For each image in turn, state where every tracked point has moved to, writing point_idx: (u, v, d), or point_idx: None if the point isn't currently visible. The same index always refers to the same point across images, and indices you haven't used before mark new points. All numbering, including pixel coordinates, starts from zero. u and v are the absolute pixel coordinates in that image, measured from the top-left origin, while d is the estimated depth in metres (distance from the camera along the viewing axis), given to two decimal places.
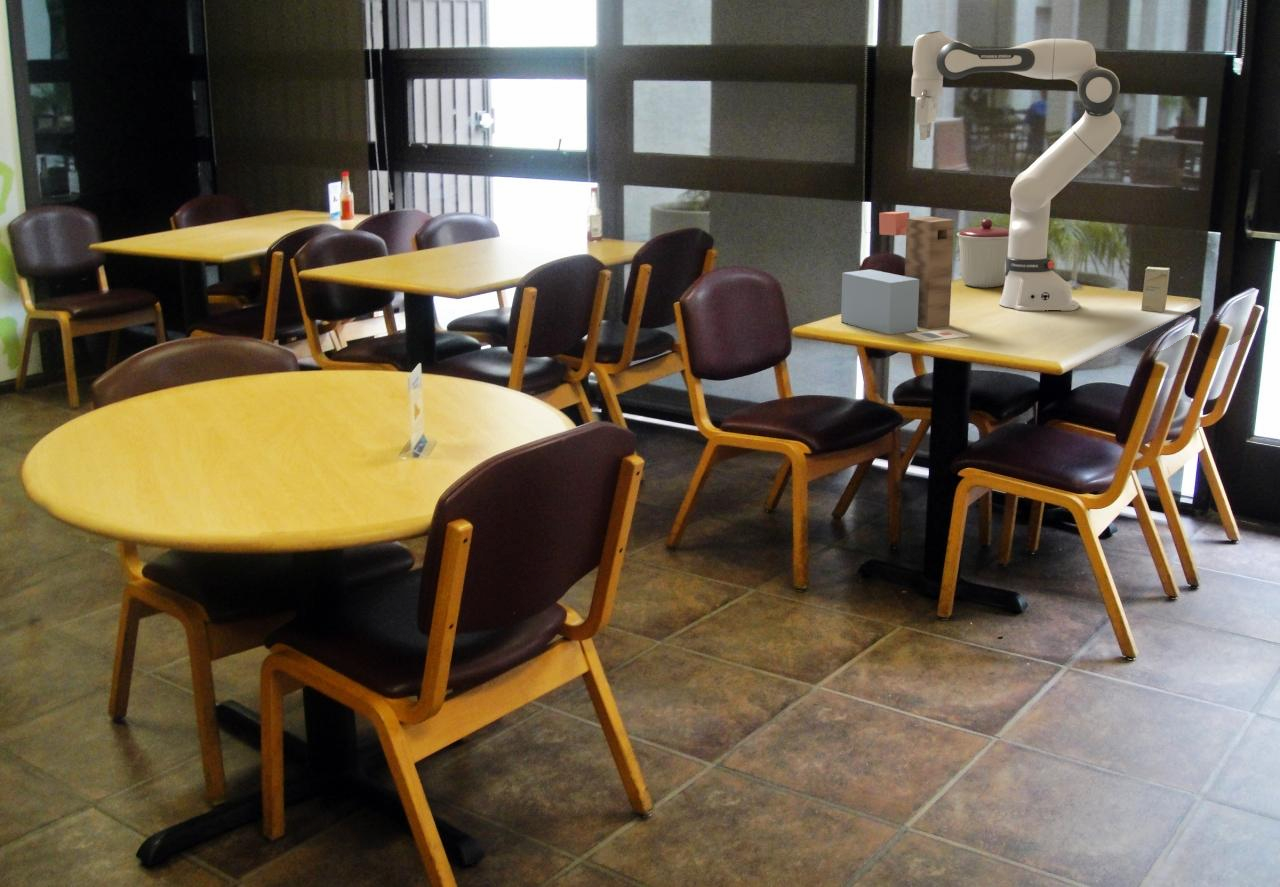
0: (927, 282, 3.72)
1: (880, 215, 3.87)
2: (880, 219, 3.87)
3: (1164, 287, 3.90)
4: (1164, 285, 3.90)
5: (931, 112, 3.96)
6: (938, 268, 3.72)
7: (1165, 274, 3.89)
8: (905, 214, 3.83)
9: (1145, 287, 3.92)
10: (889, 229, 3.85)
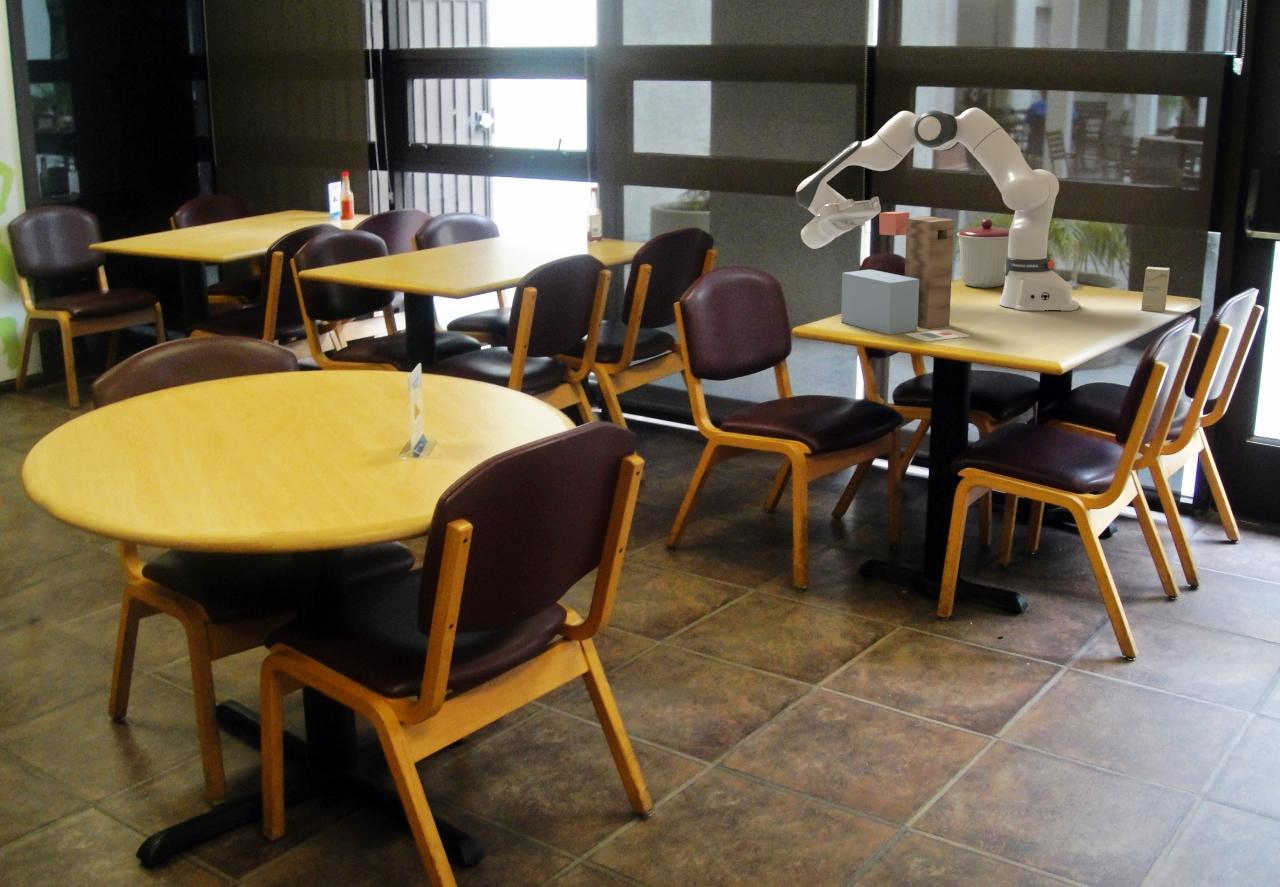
0: (927, 282, 3.72)
1: (880, 215, 3.87)
2: (880, 219, 3.87)
3: (1164, 287, 3.90)
4: (1164, 285, 3.90)
5: None
6: (938, 268, 3.72)
7: (1165, 274, 3.89)
8: (905, 214, 3.83)
9: (1145, 287, 3.92)
10: (889, 229, 3.85)
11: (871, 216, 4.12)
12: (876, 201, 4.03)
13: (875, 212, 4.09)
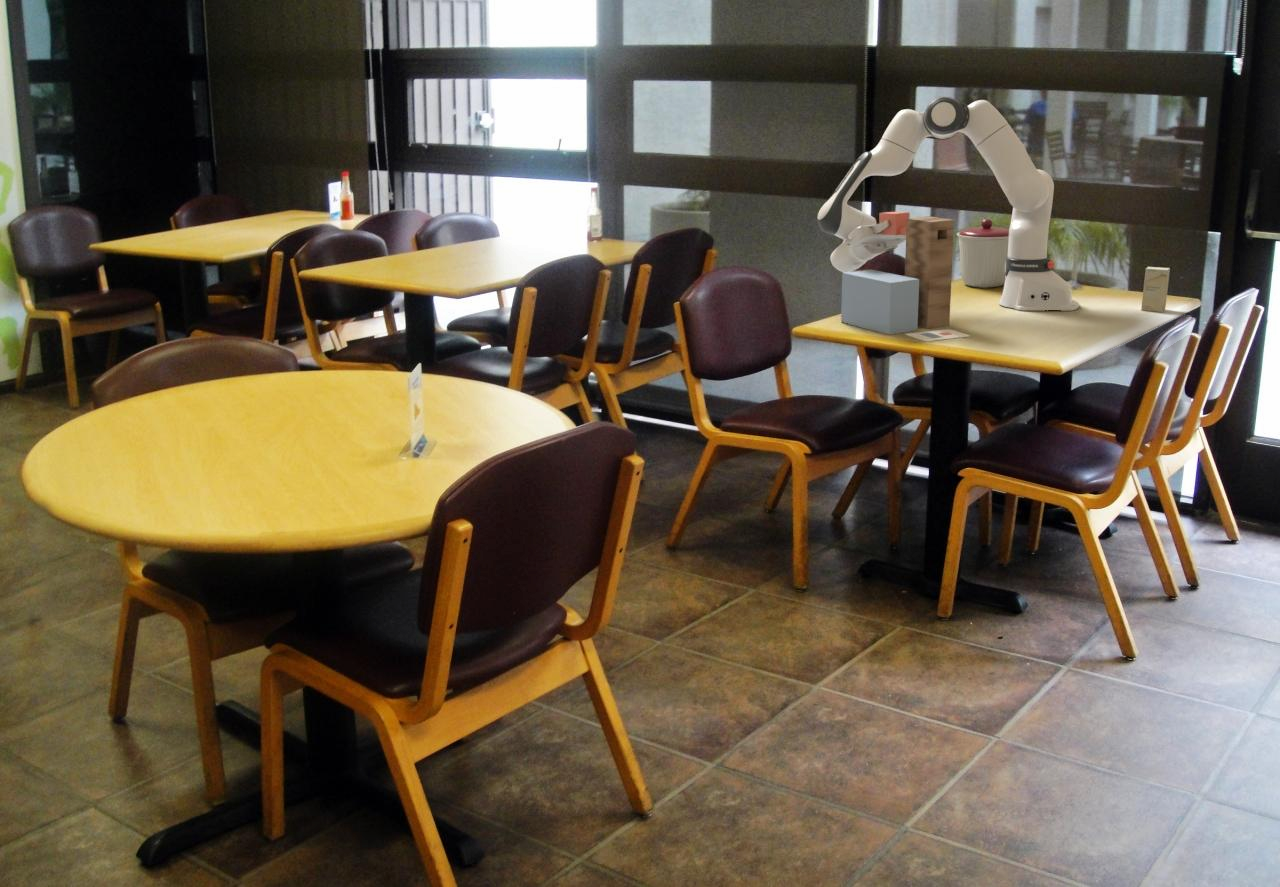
0: (927, 282, 3.72)
1: (880, 215, 3.87)
2: (880, 219, 3.87)
3: (1164, 287, 3.90)
4: (1164, 285, 3.90)
5: None
6: (938, 268, 3.72)
7: (1165, 274, 3.89)
8: (905, 214, 3.83)
9: (1145, 287, 3.92)
10: (889, 229, 3.85)
11: (904, 238, 3.96)
12: None
13: None
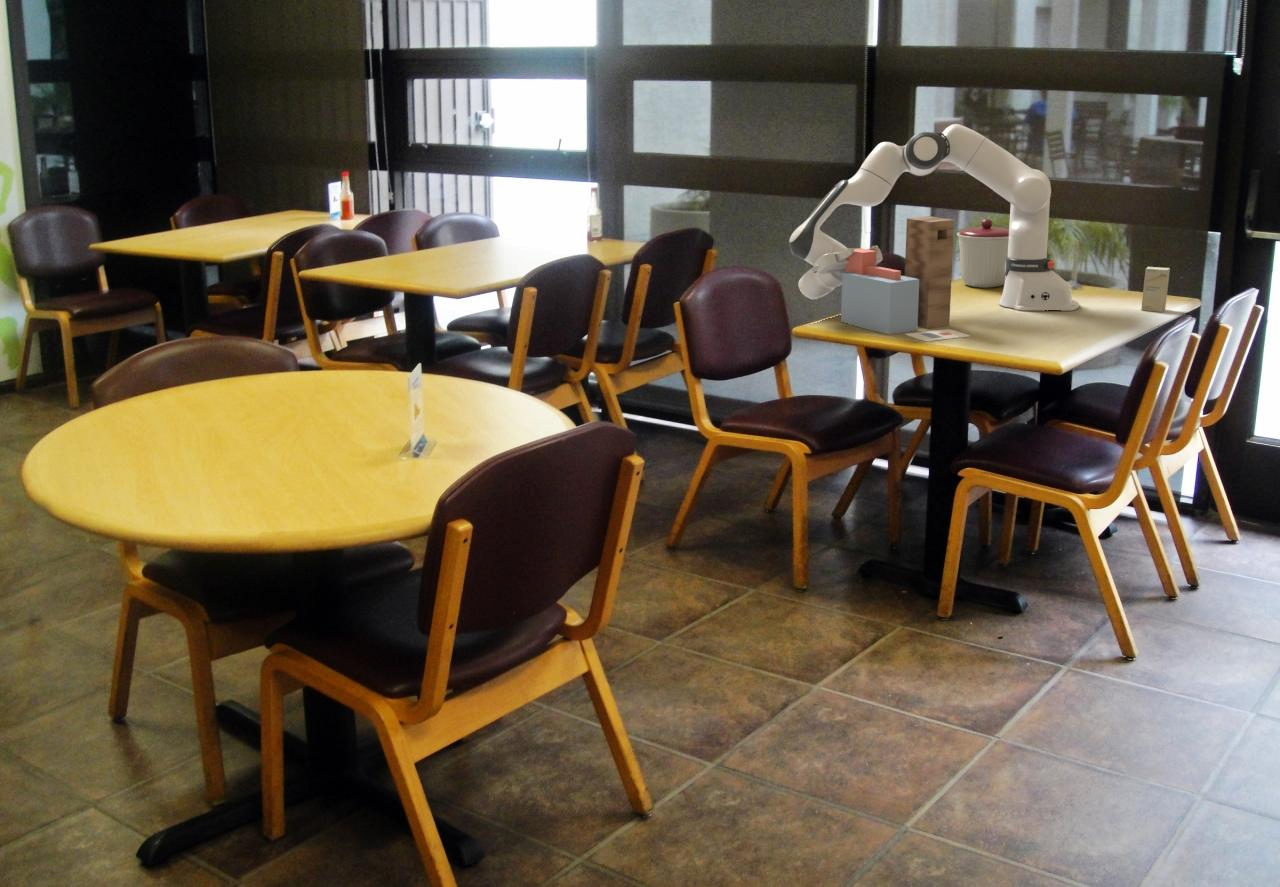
0: (927, 282, 3.72)
1: None
2: None
3: (1164, 287, 3.90)
4: (1164, 285, 3.90)
5: None
6: (938, 268, 3.72)
7: (1165, 274, 3.89)
8: (872, 253, 3.79)
9: (1145, 287, 3.92)
10: (855, 267, 3.81)
11: None
12: (876, 250, 3.82)
13: (876, 261, 3.89)
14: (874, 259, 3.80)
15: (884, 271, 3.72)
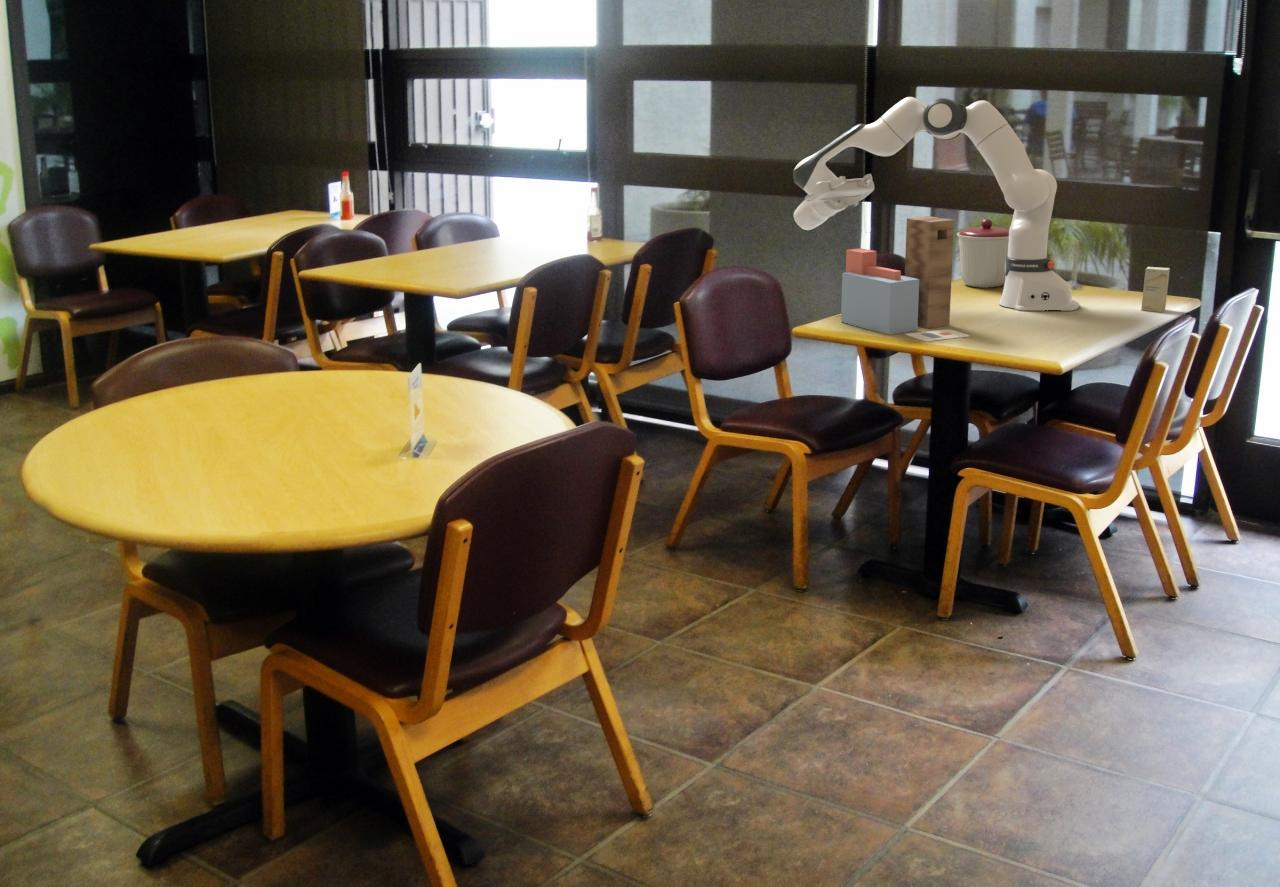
0: (927, 282, 3.72)
1: (847, 252, 3.83)
2: (847, 256, 3.83)
3: (1164, 287, 3.90)
4: (1164, 285, 3.90)
5: None
6: (938, 268, 3.72)
7: (1165, 274, 3.89)
8: (872, 253, 3.79)
9: (1145, 287, 3.92)
10: (855, 267, 3.81)
11: (864, 195, 4.03)
12: (869, 178, 3.94)
13: (868, 190, 4.00)
14: (874, 259, 3.80)
15: (884, 271, 3.72)
